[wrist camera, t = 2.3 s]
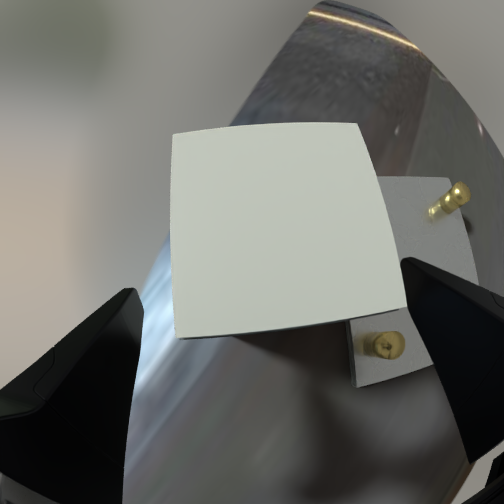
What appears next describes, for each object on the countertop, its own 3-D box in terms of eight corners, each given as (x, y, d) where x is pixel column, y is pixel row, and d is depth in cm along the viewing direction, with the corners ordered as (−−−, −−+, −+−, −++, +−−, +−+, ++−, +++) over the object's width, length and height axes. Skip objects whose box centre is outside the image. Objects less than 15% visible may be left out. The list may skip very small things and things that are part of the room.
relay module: (307, 325, 17) (409, 308, 5) (226, 334, 17) (173, 340, 5) (297, 246, 18) (358, 121, 7) (218, 254, 18) (171, 133, 7)
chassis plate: (477, 342, 16) (506, 340, 13) (351, 385, 16) (373, 395, 12) (442, 183, 20) (463, 163, 17) (319, 184, 20) (331, 157, 16)
